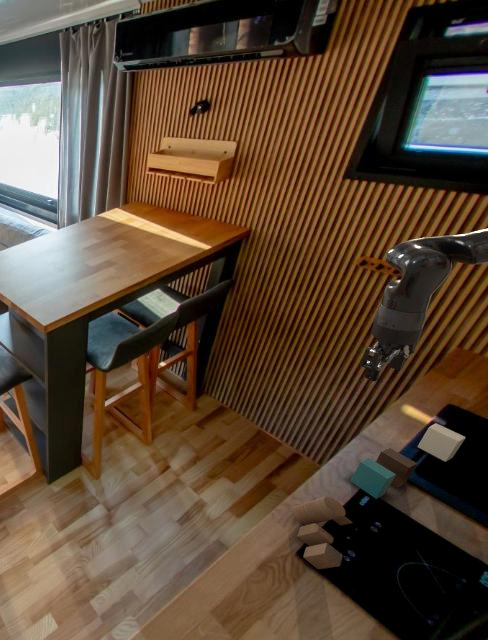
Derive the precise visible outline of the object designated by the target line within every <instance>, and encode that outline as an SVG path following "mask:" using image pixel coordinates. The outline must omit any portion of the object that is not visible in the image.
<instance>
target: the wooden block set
mask: <svg viewBox="0 0 488 640" xmlns="http://www.w3.org/2000/svg"><path fill="white" fill-rule="evenodd" d="M291 513H292V515H293V517H294V518H295V519H296V520H297V521H298V522H299V523H301V524H302V526H300V527H299V530H298V532H297V537H298V539H300V540H301V541H302V542H303V543H305V544H306V545H307V546H306V547H305V550H304V553H303V559H304V560H305V561H307V562H308V563H309V564H310V565H311V566H313V567H314V568H315V569H317V570H323V569H331V568H335V567H336V568H337V567H341V565H342V561H343V554H342V553H341V552H339V550H337V549H336V548H334V546H332V544H333V542H334V537H333V535H331V534H330V533H329V532H328V531H327V530H325V529H324V528H323V527H321V526H320V525H319V524H320V523H323V522H328V521H334V522H335V523H336V524H337V525H339V526H345V525H350V524H353V521H351V520H350V519H349V518H348V517H346V510H345V508H344V507H343V505H342V504H341V503H340V502H339V501H338V500H336V499H335V498H334V497H331V496H322V497H319V498H316V499H313V500H310V501H307V502H304V503H301V504H297V505H294V506H292V507H291Z"/></svg>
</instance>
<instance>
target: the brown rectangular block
mask: <svg viewBox="0 0 488 640" xmlns="http://www.w3.org/2000/svg"><path fill="white" fill-rule="evenodd" d="M375 462H376V463H378V464H380V465H381V466H383V467H385V468H386V469H388V470H389V471H391V472H393V473H394V474H396V476H395V477H394V479H393V481H392V482H391V484H390V485H392V486H394V487H395V488H397V489H398V488H400V487H402V486H403V485H405V484H406V483H407V482H408V480H409V478H410V477H411V475H412V473H413V472H414V470H415V468H416V467H417V465H418V462H415V461H414V460H412V459H411V458H408V457H407V456H405V455H403V454H401V453H400V452H398V451H396V450H394V449H393V448H391V447H387V448H385V449H383V450H381V451H380V453H379V454H378V457H377V459H376V461H375Z"/></svg>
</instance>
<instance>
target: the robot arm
mask: <svg viewBox="0 0 488 640" xmlns="http://www.w3.org/2000/svg"><path fill="white" fill-rule="evenodd" d="M384 259H385V262H386V263H387V264H388V265H389V266H390V267H391V268H393V269H395V270H396V271H398V272H400V273H401V279H395V280H392V281H390V282H388V283H387V284H386V285H385V288H384V290H383V294H382V297H381V300H380V303H379V306H378V308H377V310H376V314H375V317H374V320H373V325H372V328H371V335H372V336H373V337H374V338H375V339H376V340H377V342H375V344H374V345H373V347H370V346H367V347H366V348H365V351H364V354H363V357H362V360H361V363H360V367H362V368H365V372H364V378H365V379H367V380H369V381H371V382H377V381H378V380H379V377H380V375H381V371H382V369H383V367H384V366H385V365H387V366H388V367H389V368H390V369H393V370H395V371H401V370H403V367H404V364H405V361H406V359H408V358H409V355H413V354H414V353H415V351H416V347H417V344H418V342H419V341H420V339H421V335H422V333H423V329H424V326H425V324H426V320H427V315H428V308H429V305H430V302H431V300H432V296H433V294H434V293H435V292H437V290H438V289H439V287H440V286H441V285H442V284H443V283H444V282H445V281H446V279H447V278H448V277H449V275H450V273H451V272H452V268H453V262H455V263H460V264H463V265H472V266H473V265H474V266H475V265H481V264H482V265H483V264H487V263H488V228H483V229H479V230H475V231H470V232H466V233H462V234H456V235H454V234H453V235H441V236H432V237H422V238H416V239H410V240H405V241H402V242H400V243H398V244H395V245H394V246H392V247H391V248H389V249H388V250H387V251H386V253H385V255H384Z"/></svg>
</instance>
